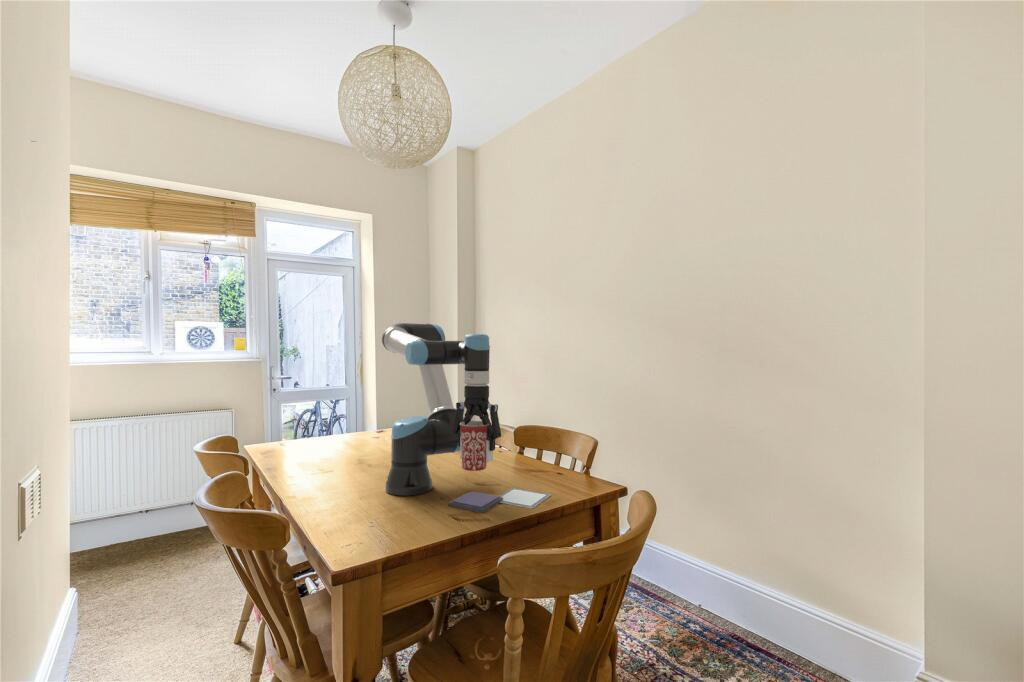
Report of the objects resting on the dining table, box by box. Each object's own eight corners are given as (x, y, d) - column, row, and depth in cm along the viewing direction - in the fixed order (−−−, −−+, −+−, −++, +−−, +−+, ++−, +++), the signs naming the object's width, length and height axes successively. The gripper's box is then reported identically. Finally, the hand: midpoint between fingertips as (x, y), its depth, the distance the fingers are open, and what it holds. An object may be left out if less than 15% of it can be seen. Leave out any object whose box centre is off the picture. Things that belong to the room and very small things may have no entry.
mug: (489, 472, 134) (489, 425, 135) (458, 472, 134) (458, 425, 134) (489, 461, 147) (489, 418, 147) (461, 461, 147) (461, 418, 147)
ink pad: (448, 505, 138) (448, 501, 138) (470, 494, 148) (470, 490, 148) (482, 513, 132) (482, 508, 132) (502, 500, 143) (502, 496, 143)
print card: (491, 501, 142) (491, 499, 142) (512, 488, 155) (512, 487, 155) (532, 508, 136) (532, 507, 136) (551, 495, 148) (551, 494, 148)
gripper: (441, 384, 142) (440, 457, 142) (501, 387, 132) (500, 466, 132) (455, 382, 149) (454, 453, 149) (513, 385, 139) (513, 461, 138)
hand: (476, 459), depth 140 cm, fingers closed on mug, 8 cm apart
